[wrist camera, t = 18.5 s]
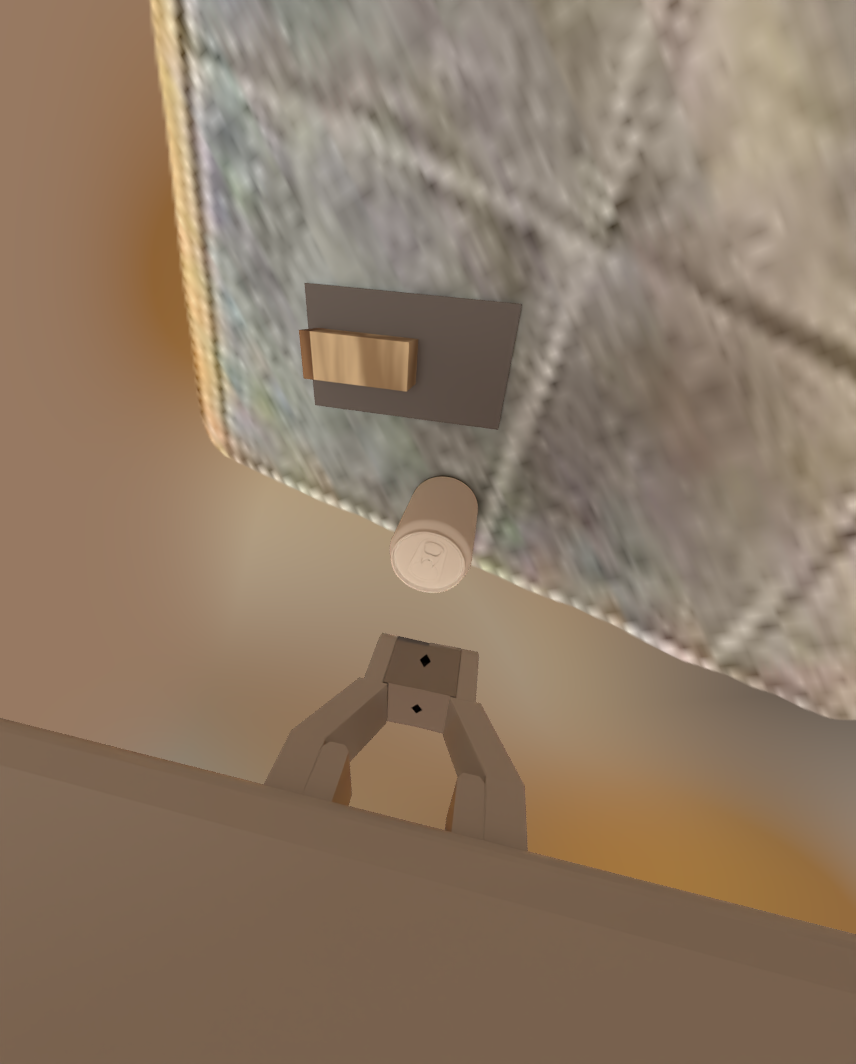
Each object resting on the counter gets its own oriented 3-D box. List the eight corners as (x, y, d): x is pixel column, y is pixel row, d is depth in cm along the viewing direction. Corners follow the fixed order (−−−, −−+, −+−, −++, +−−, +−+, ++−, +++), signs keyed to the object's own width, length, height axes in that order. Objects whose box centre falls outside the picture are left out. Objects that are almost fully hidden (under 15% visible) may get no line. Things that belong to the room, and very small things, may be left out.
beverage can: (405, 520, 46) (377, 580, 36) (422, 464, 41) (396, 514, 31) (464, 541, 46) (454, 607, 36) (488, 488, 41) (483, 545, 31)
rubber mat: (521, 304, 32) (521, 304, 31) (498, 428, 38) (497, 429, 37) (307, 283, 34) (304, 283, 33) (317, 403, 40) (315, 405, 39)
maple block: (409, 342, 31) (298, 329, 32) (406, 391, 33) (303, 378, 34) (418, 339, 34) (318, 327, 35) (415, 383, 36) (321, 371, 37)
